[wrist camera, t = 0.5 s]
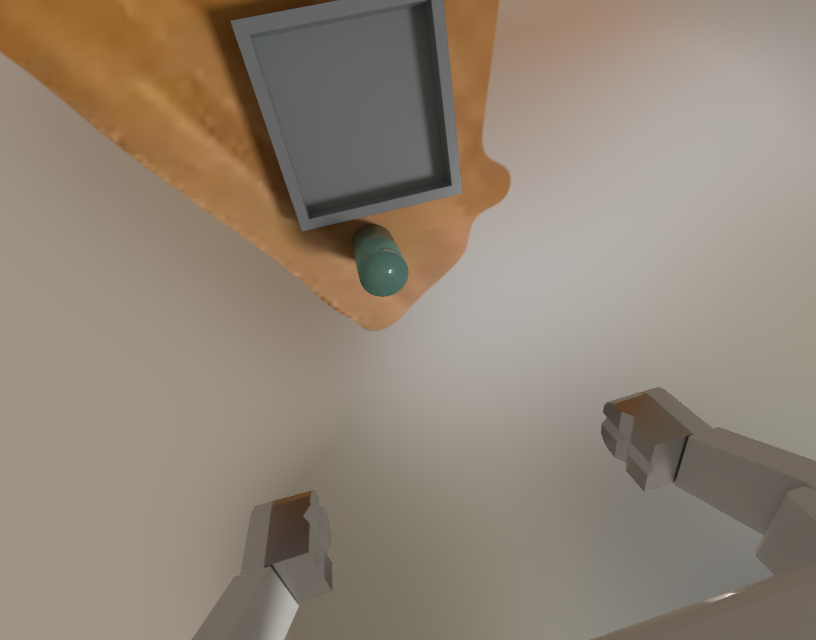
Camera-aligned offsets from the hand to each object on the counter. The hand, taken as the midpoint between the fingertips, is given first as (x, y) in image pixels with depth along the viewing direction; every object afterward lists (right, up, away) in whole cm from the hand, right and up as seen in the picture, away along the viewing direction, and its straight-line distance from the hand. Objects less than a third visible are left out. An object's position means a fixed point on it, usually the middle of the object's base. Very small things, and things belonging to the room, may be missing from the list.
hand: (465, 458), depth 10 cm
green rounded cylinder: (-6, +14, +41) cm, 43 cm away
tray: (-7, +27, +33) cm, 43 cm away
